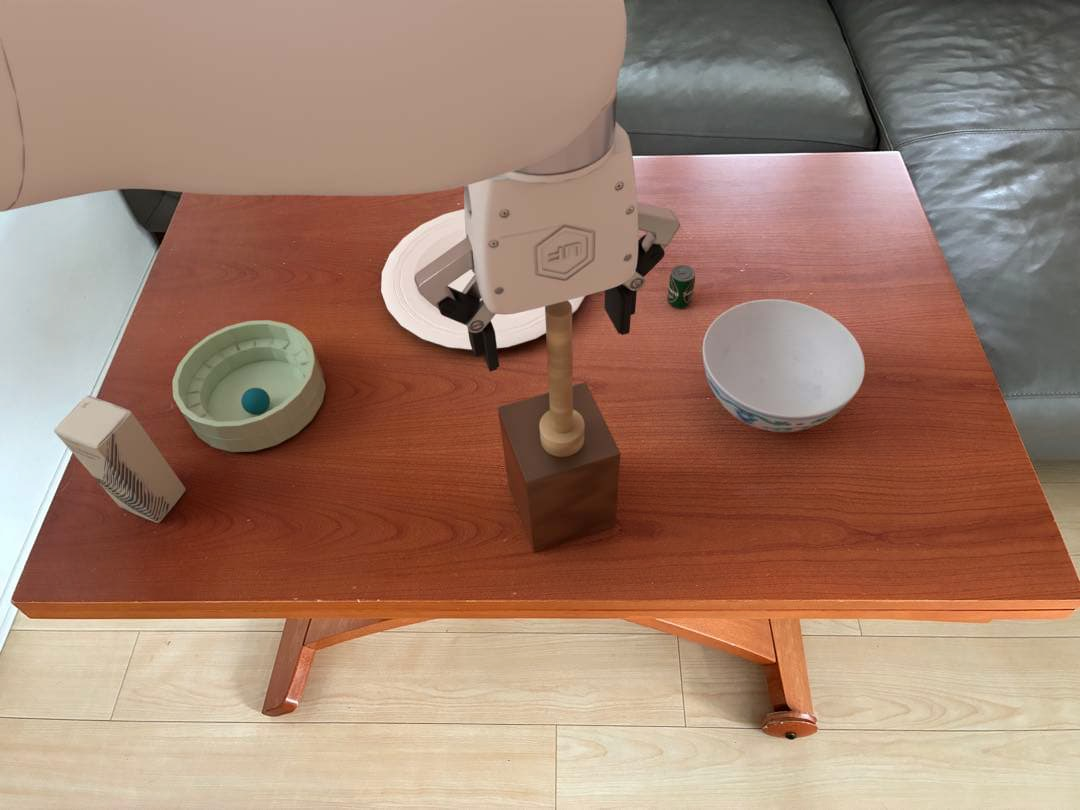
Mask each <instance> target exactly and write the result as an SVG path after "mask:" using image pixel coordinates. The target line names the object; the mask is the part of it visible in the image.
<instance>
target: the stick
mask: <svg viewBox="0 0 1080 810" xmlns="http://www.w3.org/2000/svg"><path fill="white" fill-rule="evenodd" d="M545 320H546V334H545V336H546V337H545V338H546V357H547V359H546V360H547V378H548V380H547V381H548V393H549V401H550V410H549V411H547V412H546V413H545V414H544V415H543V416H542V418H541V420H540V424H539V427H540V441H541V445H542V447H543V448H544V449H545V451H547V452H548V453H549V454H551V455H554V456H557V457H567V456H571V455H573V454H575V453H577V452H578V451H579V450H580V449H581V448H582V446H583V444H584V428H585V424H584V420H583V418H582V416H581V415H580V414H579V413H578V412H577V411H575V410H573V386H574V384H573V383H574V371H573V369H574V367H573V365H574V364H573V363H574V362H573V361H574V360H573V359H574V358H573V357H574V356H573V354H574V353H573V314H572V305H571V303H570V302H569V301H564V302H560V303H556V304H552V305H548V306H545Z"/></svg>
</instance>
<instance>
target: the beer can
mask: <svg viewBox="0 0 1080 810" xmlns="http://www.w3.org/2000/svg"><path fill="white" fill-rule="evenodd" d="M695 284H696V271H695V270H694V268H693V267H691V266H689V265H687V264H679V265H676V266H674V267H673V268H672V269H671V272H670V275H669V280H668V290H667V298H666V300H667V303H668V304H669V305H670V307H673V308H676V309H685V308H687V307H689V306H690V305H691V304H692V301H693V295H694V289H695Z"/></svg>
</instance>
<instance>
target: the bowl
mask: <svg viewBox="0 0 1080 810" xmlns="http://www.w3.org/2000/svg"><path fill="white" fill-rule="evenodd" d="M251 388H261V389H263V390H264V391H266V392H267V394H268V395H269V397H270V405H269V407H268V409H267V410H266V411H265V412H263V413H261V414H258V415H254V414H250V413H248V412H246V411H245V410H244V408H243V407H242V403H241V399H242V396H243V394H244V393H245V392H246V391H247V390H248V389H251ZM326 388H327V387H326V380H325V375H324V372H323V369H322V366H321V363H320V361H319V359H318V356H317V354H316V351H315V349H314V347H313V344H312V343H311V342H310V340H309V339H308V338H307V336H306V335H305V334H304V332H303V331H301V330H299V329H297V328H295V327H294V326H292V325H290V324H289V323H285V322H280V321H275V320H271V319H266V320H265V319H264V320H263V319H262V320H261V319H259V320H247V321H243V322H239V323H234V324H231V325H228V326H225V327H223V328H221V329H219V330H216V331H215V332H213V333H210V334H209V335H207V336H205V337H204V338H203V339H202V340H201V341H199V342H198V343H196V344H195V345H194V346H193V347H191V348H190V349H189V350H188V351H187V353H186V354H185V355H184V356H183V358H182V359H181V360H180V362H179V363H178V365H177V368H176V370H175V372H174V375H173V378H172V398H173V400H174V402H175V403H176V406H177V407H178V409H179V410H180V412H181V414H182V415H183V417H184V418H185V420H186V421H187V423H188V424H189V426H190V427H191V429H192V430H193V432H194V433H195V435H196V436H197V438H198V439H200V440H202V441H203V442H205V443H206V444H207V445H209V446H210V447H212V448H215V449H218V450H222V451H226V452H228V453H249V452H251V453H252V452H257V451H260V450H264V449H267V448H271V447H274V446H278V445H279V444H281V443H283V442H284V441H287V440H289V439H290V438H292V437H294V436H296V435H297V434H299V433H300V431H302V430H303V429H304V428H305V427H306V426H307V425H308V424H309V423H310V422H312V421H313V419H314V418H315V416H316V414H317V412H318V411H319V409H320V407H321V406H322V404H323V401H324V396H325V392H326Z"/></svg>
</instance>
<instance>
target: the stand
mask: <svg viewBox="0 0 1080 810" xmlns="http://www.w3.org/2000/svg"><path fill="white" fill-rule="evenodd" d="M549 410H550V401H549V392H546V393H543V394H539V395H536V396H532V397H528V398H525V399H521V400H517V401H515V402H514V401H513V402H511V403H508V404H504V405H500V406H498V407H497V413H498V419H499V426H500V427H499V428H500V434H501V441H502V449H503V456H504V463H505V473H506V479H507V485H508V488H509V491H510V492H511V495H512V497H513V500H514V504H515V506H516V510H517V512H518V515H519V517H520V520H521V523H522V526H523V528H524V532H525V533H526V535H527V536H526V537H527V538H528V541H529V545H530V547H531V550H532V552H533V553H537V552H541V551H544V550H547V549H550V548H553V547H556V546H559V545H562V544H565V543H568V542H572V541H574V540H578V539H582V538H584V537H588V536H590V535H594V534H597V533H600V532H602V531H606V530H608V529H612V528H615V527H616V520H617V505H618V494H619V480H620V469H621V468H620V465H621V456H622V455H621V454H622V453H621V451H620V449H619V447H618V445H617V443H616V441H615V439H614V437H613V435H612V432H611V431H610V428H609V426H608V424H607V422H606V420H605V418H604V416H603V414H602V412H601V409H600V408H599V406H598V403H597V402H596V400H595V397H594V395H593V393H592V392H591V390H590V387H589V386H588V383H587V382H586V381H584V382H580V383H577V384H573V410H575V411H577V412H578V413H579V414H580V415H581V416H582V418H583V420H584V424H585V428H584V444H583V446H582V448H581V449H580V450H579V451H578V452H577V453H575V454H573V455H571V456H567V457H557V456H554V455H551V454H549V453H548V452H547V451H545V449H544V448H543V447H542V445H541V441H540V427H539V424H540V420H541V418H542V416H543V415H544V414H545V413H546V412H547V411H549Z"/></svg>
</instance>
